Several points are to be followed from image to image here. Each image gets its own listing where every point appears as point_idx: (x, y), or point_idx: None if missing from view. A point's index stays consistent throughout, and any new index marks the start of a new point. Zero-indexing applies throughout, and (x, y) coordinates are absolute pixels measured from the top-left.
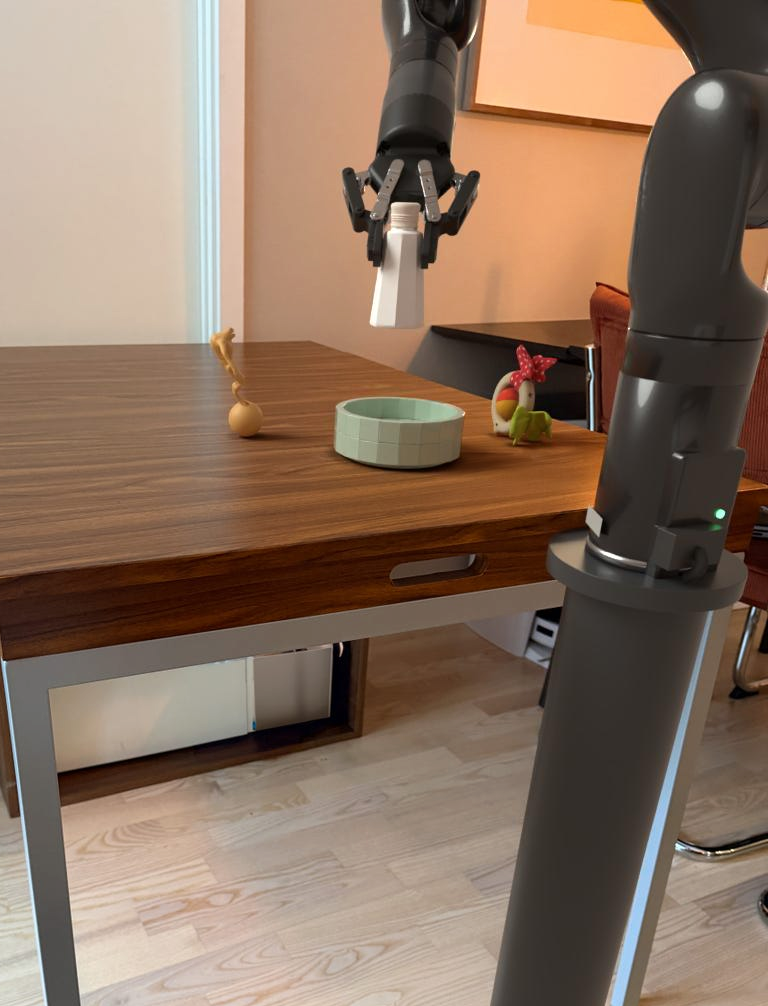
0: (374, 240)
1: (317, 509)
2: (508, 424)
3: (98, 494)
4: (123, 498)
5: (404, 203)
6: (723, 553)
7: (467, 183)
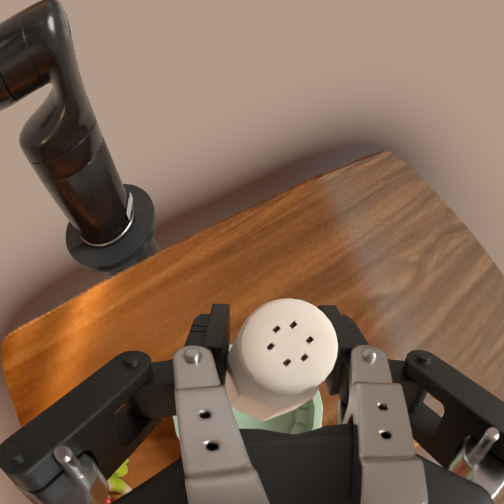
0: (340, 315)
1: (295, 239)
2: (127, 488)
3: (422, 241)
4: (408, 237)
5: (291, 300)
6: (69, 232)
7: (50, 434)
